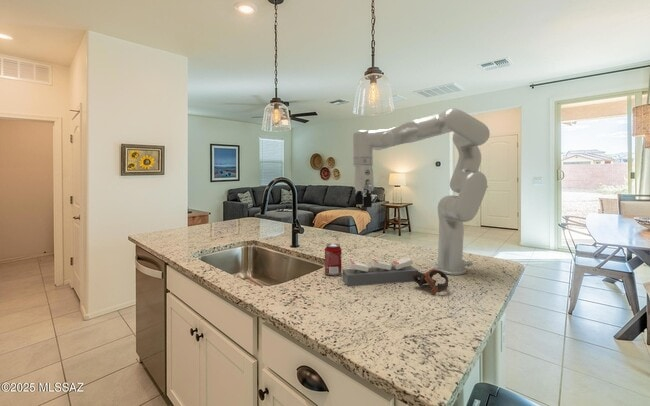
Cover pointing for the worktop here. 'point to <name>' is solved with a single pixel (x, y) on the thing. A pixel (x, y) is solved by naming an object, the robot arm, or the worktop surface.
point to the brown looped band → (431, 280)
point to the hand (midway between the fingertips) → (363, 205)
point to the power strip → (378, 275)
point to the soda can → (333, 259)
